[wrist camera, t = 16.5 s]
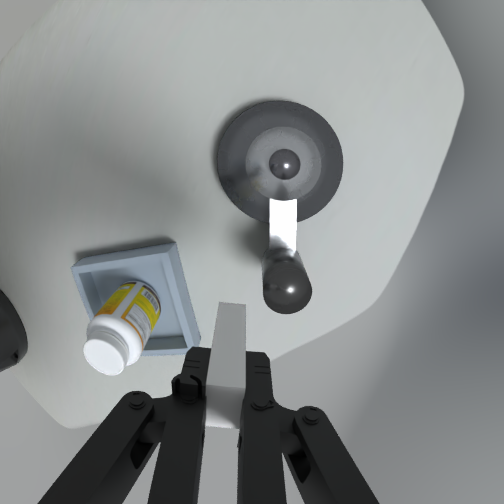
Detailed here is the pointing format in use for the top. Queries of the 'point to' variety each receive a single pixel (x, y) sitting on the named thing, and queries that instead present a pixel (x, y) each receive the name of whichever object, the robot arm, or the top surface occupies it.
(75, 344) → the top surface
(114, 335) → the supplement bottle
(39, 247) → the top surface
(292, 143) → the crank
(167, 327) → the tray
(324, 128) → the crank housing
